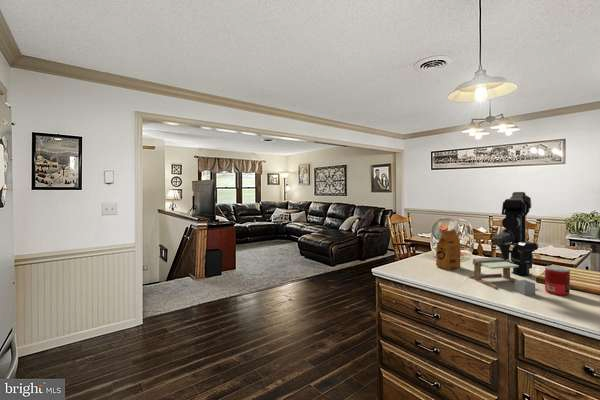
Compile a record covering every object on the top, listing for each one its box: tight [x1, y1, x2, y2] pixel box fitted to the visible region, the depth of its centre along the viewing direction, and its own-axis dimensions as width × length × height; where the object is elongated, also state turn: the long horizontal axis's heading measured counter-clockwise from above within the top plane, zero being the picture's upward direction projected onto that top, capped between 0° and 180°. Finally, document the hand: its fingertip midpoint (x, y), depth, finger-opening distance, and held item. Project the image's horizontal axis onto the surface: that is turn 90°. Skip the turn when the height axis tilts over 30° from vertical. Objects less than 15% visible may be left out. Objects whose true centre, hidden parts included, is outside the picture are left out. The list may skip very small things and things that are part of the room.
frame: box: [469, 258, 518, 290], centre depth 141 cm, size 17×18×10 cm
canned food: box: [544, 265, 571, 297], centre depth 125 cm, size 8×8×11 cm
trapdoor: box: [472, 256, 519, 270], centre depth 143 cm, size 12×14×3 cm
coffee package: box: [435, 228, 461, 271], centre depth 169 cm, size 10×12×22 cm
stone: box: [514, 279, 536, 296], centre depth 126 cm, size 5×5×5 cm
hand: (513, 262), depth 130 cm, fingers open, 9 cm apart
